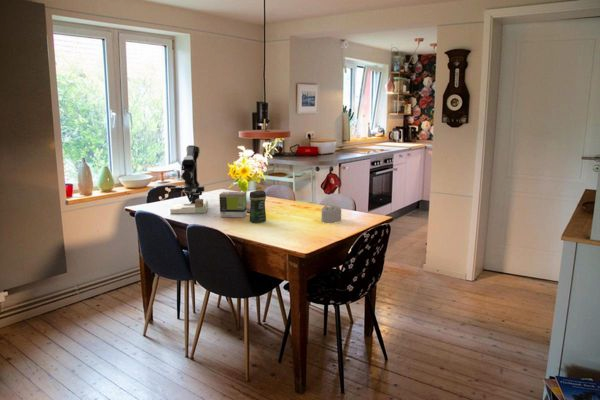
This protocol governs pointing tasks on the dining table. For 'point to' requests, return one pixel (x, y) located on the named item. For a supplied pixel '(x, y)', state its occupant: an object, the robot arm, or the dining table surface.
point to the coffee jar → (257, 206)
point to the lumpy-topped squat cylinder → (331, 214)
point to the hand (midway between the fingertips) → (190, 201)
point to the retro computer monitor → (233, 204)
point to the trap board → (188, 209)
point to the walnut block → (199, 203)
